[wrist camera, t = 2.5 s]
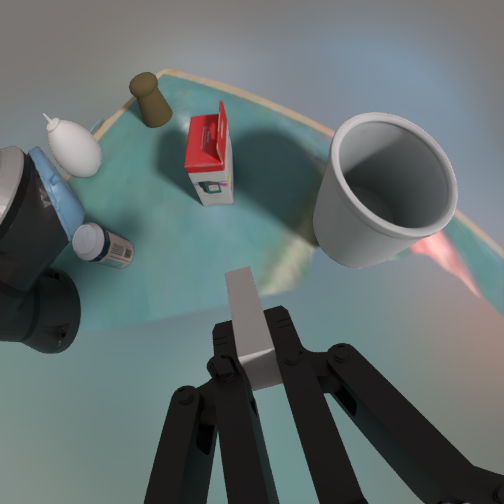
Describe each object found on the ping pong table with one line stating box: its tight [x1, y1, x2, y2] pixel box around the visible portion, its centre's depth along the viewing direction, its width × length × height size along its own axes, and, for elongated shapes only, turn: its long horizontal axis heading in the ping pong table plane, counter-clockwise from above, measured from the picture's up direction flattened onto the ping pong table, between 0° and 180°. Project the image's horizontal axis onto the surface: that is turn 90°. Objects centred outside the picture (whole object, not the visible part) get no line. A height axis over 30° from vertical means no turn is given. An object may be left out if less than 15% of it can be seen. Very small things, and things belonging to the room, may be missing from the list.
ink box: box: [184, 100, 234, 206], centre depth 37 cm, size 8×5×15 cm, turn 1°
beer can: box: [72, 223, 134, 268], centre depth 35 cm, size 5×5×12 cm
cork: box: [129, 72, 172, 128], centre depth 44 cm, size 6×6×11 cm
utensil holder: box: [313, 112, 458, 268], centre depth 33 cm, size 15×15×18 cm
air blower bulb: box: [44, 114, 102, 178], centre depth 38 cm, size 8×8×18 cm
